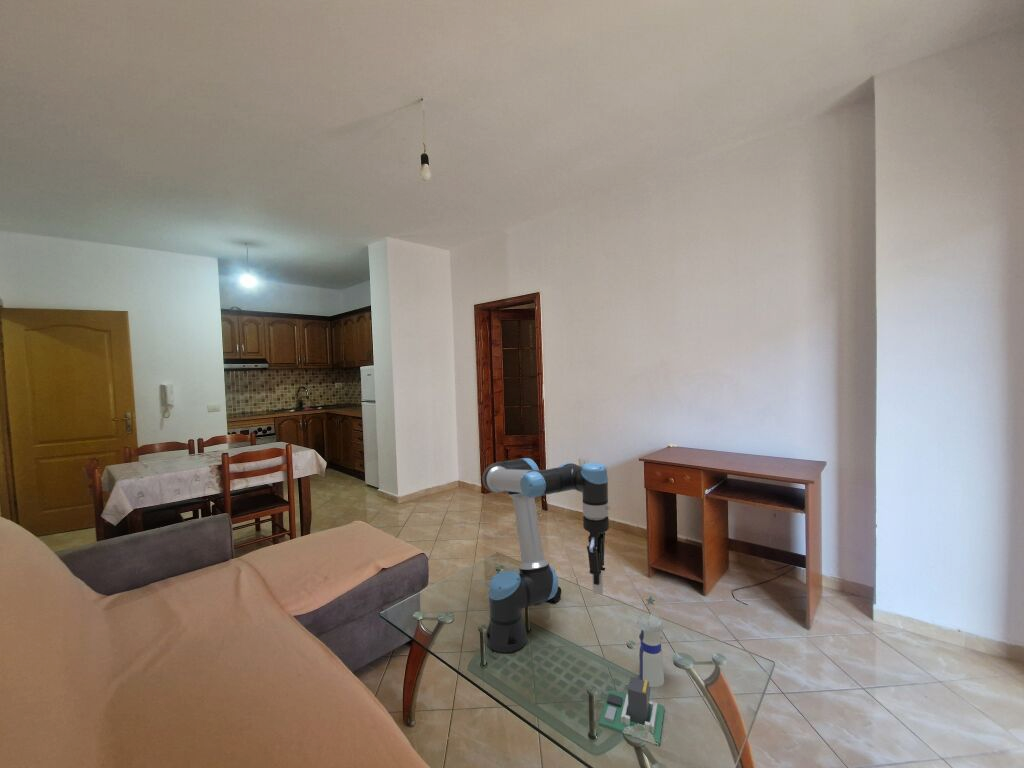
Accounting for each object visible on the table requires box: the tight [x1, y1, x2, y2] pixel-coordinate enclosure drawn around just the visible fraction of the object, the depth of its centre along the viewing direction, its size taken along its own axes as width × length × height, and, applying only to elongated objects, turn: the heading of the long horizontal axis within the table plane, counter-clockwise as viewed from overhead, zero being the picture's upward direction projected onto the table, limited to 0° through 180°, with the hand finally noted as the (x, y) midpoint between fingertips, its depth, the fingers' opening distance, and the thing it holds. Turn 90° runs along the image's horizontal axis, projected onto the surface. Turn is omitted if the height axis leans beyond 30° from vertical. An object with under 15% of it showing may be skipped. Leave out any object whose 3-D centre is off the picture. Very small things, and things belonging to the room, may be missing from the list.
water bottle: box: [635, 595, 665, 688], centre depth 133 cm, size 8×9×25 cm
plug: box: [627, 676, 650, 725], centre depth 118 cm, size 5×5×9 cm
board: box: [598, 689, 665, 745], centre depth 119 cm, size 16×13×3 cm
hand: (597, 592), depth 126 cm, fingers closed
